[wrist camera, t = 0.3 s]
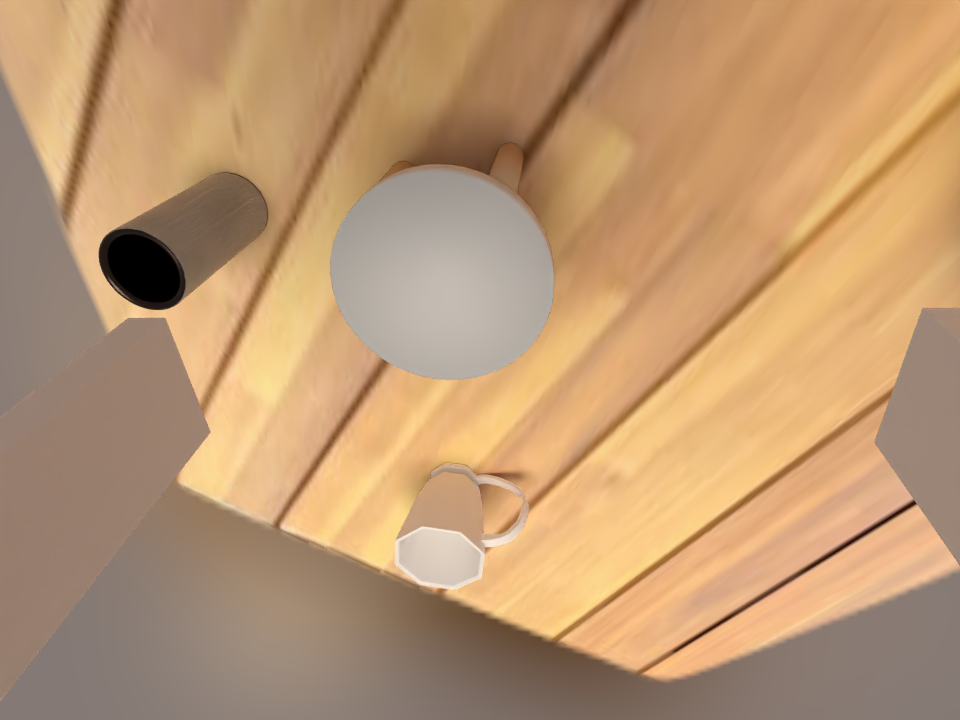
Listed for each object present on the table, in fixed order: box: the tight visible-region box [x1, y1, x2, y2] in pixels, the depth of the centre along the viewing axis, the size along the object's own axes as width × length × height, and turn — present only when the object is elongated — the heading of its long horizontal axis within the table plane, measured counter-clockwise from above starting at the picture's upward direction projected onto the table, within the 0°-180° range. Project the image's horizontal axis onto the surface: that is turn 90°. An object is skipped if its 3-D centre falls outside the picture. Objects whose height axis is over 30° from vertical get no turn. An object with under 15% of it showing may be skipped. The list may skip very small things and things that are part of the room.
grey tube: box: [99, 173, 267, 310], centre depth 34 cm, size 4×4×10 cm
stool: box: [330, 143, 554, 380], centre depth 33 cm, size 11×11×10 cm
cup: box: [395, 462, 529, 590], centre depth 46 cm, size 7×10×8 cm
